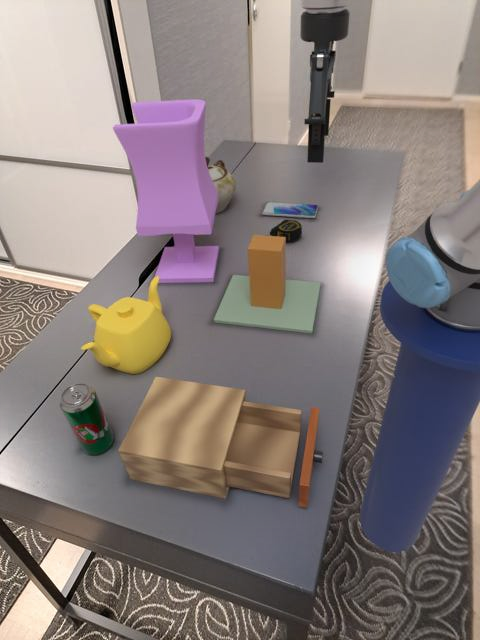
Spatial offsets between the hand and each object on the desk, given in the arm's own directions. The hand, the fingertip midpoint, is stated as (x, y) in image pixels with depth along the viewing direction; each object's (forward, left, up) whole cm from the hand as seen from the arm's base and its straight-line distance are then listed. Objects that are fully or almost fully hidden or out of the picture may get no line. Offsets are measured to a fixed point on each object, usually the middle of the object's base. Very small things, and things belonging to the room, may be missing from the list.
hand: (318, 147), depth 82 cm
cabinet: (+13, +49, -29) cm, 58 cm away
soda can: (+28, +51, -29) cm, 65 cm away
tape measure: (+9, -15, -29) cm, 33 cm away
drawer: (0, +49, -28) cm, 56 cm away
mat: (+8, +12, -29) cm, 32 cm away
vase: (+30, +1, -29) cm, 41 cm away
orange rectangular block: (+8, +12, -28) cm, 31 cm away
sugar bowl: (+33, -29, -29) cm, 52 cm away
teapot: (+32, +30, -29) cm, 52 cm away
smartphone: (+10, -29, -29) cm, 42 cm away
